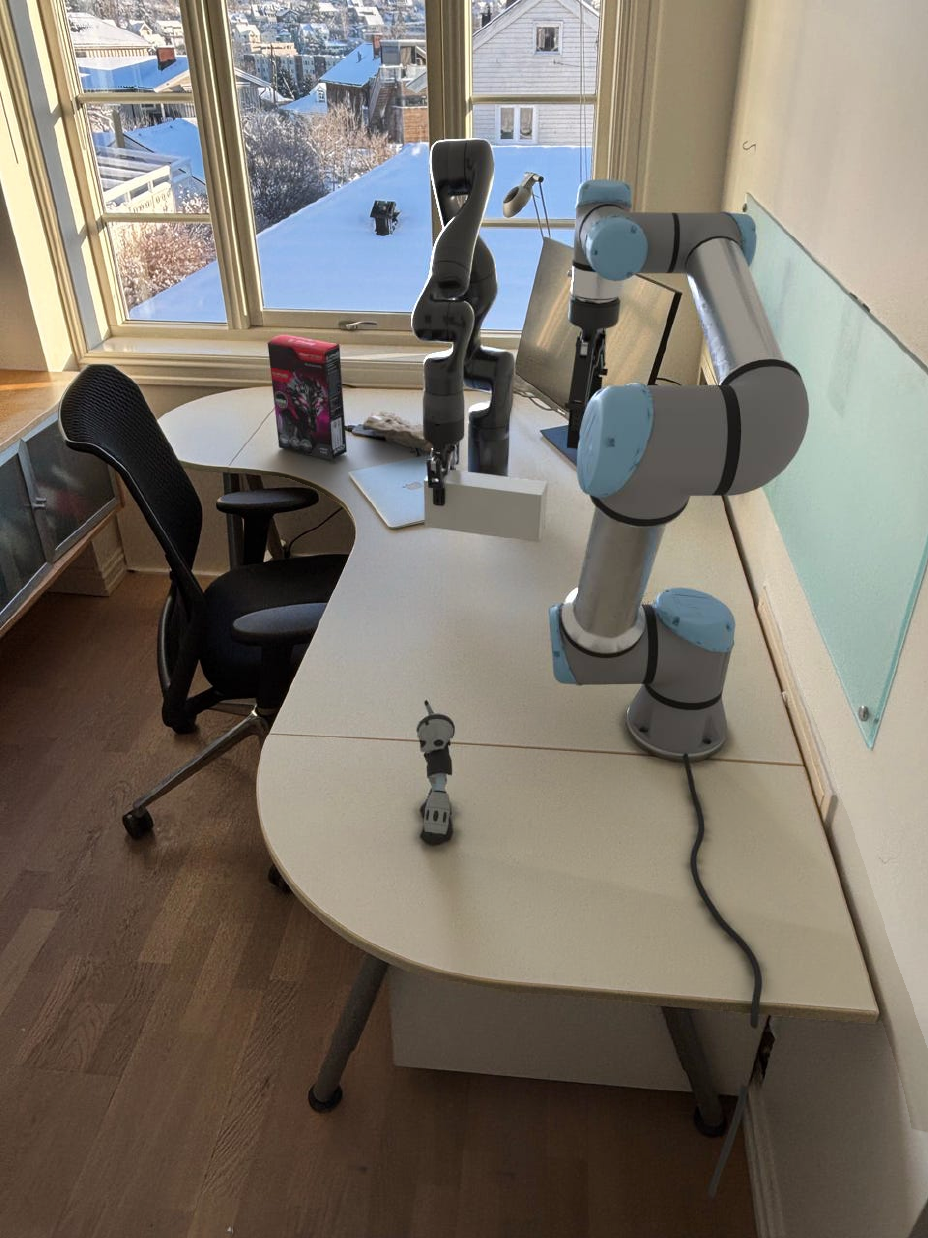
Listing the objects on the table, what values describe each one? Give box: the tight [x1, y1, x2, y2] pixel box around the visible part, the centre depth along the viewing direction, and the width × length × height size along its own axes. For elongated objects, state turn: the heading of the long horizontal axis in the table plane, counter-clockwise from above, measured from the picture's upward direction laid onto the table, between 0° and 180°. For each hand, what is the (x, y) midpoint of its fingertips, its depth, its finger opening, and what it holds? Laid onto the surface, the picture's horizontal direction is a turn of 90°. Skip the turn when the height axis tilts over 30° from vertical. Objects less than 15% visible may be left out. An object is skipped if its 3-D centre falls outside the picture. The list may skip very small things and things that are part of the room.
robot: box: [415, 699, 456, 846], centre depth 121 cm, size 20×5×20 cm, turn 3°
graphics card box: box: [267, 333, 348, 461], centre depth 223 cm, size 17×7×27 cm, turn 62°
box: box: [423, 469, 549, 543], centre depth 174 cm, size 22×6×10 cm, turn 75°
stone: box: [362, 411, 433, 453], centre depth 234 cm, size 21×15×6 cm
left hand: (444, 496), depth 175 cm, fingers closed on box, 6 cm apart
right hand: (583, 430), depth 148 cm, fingers open, 13 cm apart
